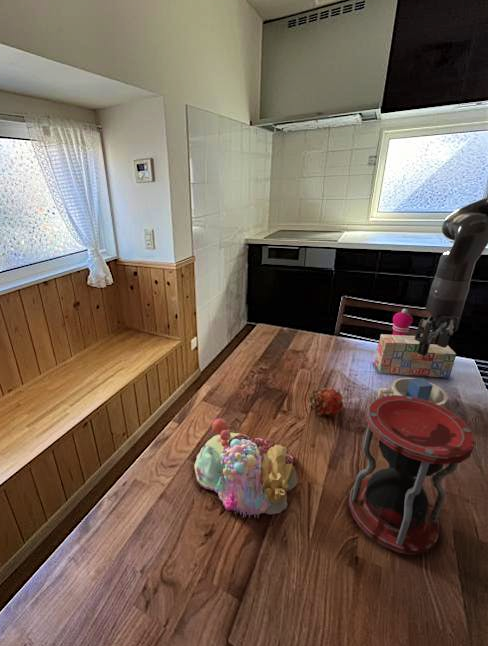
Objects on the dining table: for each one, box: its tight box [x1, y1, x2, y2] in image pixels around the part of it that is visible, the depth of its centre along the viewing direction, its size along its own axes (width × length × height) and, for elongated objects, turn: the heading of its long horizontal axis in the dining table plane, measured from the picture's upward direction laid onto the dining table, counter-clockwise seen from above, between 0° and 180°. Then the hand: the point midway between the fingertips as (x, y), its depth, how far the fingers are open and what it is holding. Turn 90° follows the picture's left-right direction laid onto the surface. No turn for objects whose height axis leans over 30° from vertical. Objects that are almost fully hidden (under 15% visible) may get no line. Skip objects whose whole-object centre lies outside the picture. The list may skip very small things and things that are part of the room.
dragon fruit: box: [309, 387, 344, 418], centre depth 99 cm, size 8×8×12 cm
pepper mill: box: [391, 308, 414, 335], centre depth 121 cm, size 7×7×20 cm
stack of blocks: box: [374, 333, 457, 379], centre depth 115 cm, size 21×6×12 cm, turn 76°
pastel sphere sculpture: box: [193, 418, 299, 519], centre depth 80 cm, size 25×24×9 cm
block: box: [406, 377, 433, 401], centre depth 99 cm, size 4×4×8 cm
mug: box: [376, 376, 449, 409], centre depth 100 cm, size 17×14×6 cm
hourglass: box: [348, 395, 476, 556], centre depth 65 cm, size 16×16×25 cm
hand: (431, 350), depth 91 cm, fingers open, 8 cm apart
